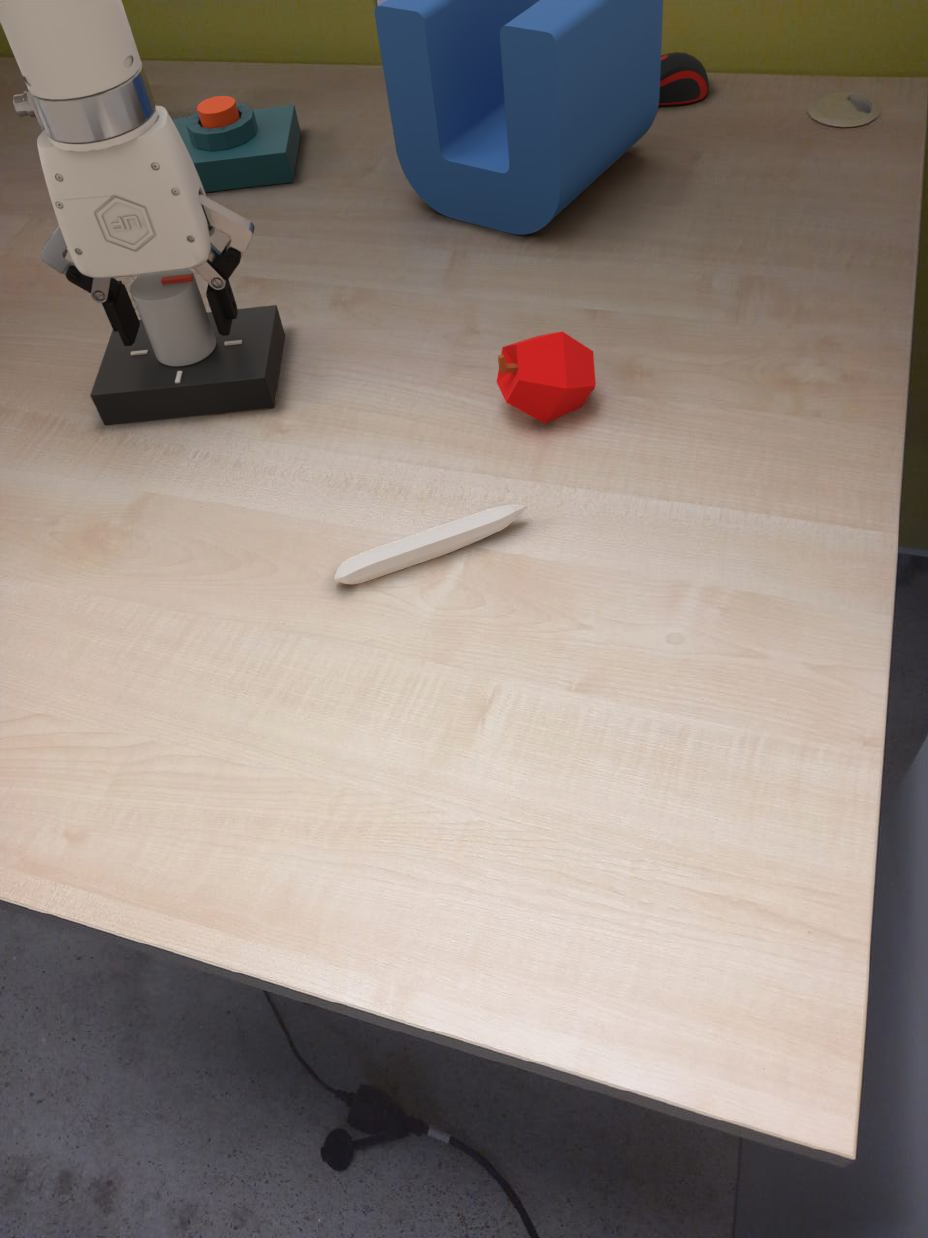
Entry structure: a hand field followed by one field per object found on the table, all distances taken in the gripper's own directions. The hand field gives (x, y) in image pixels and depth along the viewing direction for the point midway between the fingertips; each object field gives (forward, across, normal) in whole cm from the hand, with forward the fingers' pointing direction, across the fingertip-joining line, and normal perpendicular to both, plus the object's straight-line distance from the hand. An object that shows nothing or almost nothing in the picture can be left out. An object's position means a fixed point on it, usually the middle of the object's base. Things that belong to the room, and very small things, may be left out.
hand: (179, 329), depth 82 cm
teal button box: (+5, -2, +38) cm, 38 cm away
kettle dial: (+2, 0, 0) cm, 2 cm away
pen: (+5, +20, -22) cm, 30 cm away
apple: (+5, +29, -8) cm, 30 cm away
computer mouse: (+5, +44, +42) cm, 61 cm away
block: (+5, +30, +27) cm, 40 cm away
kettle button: (0, -2, +38) cm, 38 cm away
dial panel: (+5, 0, 0) cm, 5 cm away
